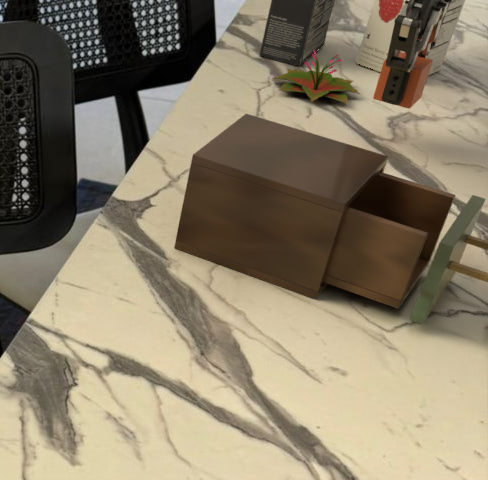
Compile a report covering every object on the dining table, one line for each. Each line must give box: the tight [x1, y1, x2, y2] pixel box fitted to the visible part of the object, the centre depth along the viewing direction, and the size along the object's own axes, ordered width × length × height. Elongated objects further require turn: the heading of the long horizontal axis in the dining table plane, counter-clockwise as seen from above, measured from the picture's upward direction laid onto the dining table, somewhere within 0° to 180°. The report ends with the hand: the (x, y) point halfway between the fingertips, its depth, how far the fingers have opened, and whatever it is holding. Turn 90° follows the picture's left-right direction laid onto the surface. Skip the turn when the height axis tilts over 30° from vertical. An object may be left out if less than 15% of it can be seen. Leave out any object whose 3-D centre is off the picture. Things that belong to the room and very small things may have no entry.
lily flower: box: [273, 51, 363, 105], centre depth 132 cm, size 12×12×5 cm
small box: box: [259, 0, 336, 67], centre depth 141 cm, size 11×6×10 cm, turn 149°
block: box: [372, 52, 433, 110], centre depth 118 cm, size 4×4×4 cm
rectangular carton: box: [355, 0, 466, 76], centre depth 138 cm, size 9×9×15 cm
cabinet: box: [173, 113, 389, 300], centre depth 98 cm, size 15×13×10 cm
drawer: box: [323, 172, 488, 325], centre depth 93 cm, size 19×11×8 cm, turn 57°
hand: (397, 95), depth 119 cm, fingers closed on block, 4 cm apart
